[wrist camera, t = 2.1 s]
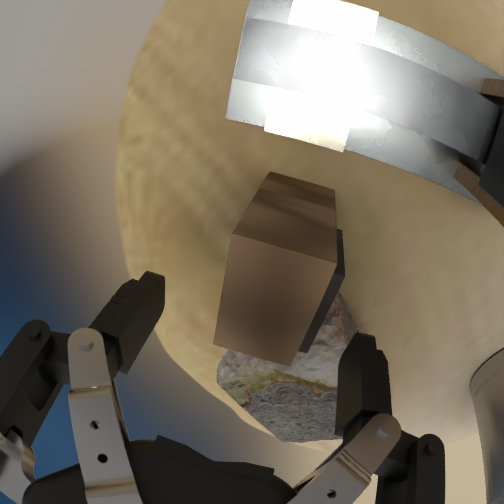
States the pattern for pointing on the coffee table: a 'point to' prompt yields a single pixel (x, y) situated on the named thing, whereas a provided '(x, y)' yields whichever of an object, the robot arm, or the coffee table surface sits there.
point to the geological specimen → (293, 383)
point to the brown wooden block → (281, 271)
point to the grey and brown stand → (372, 93)
